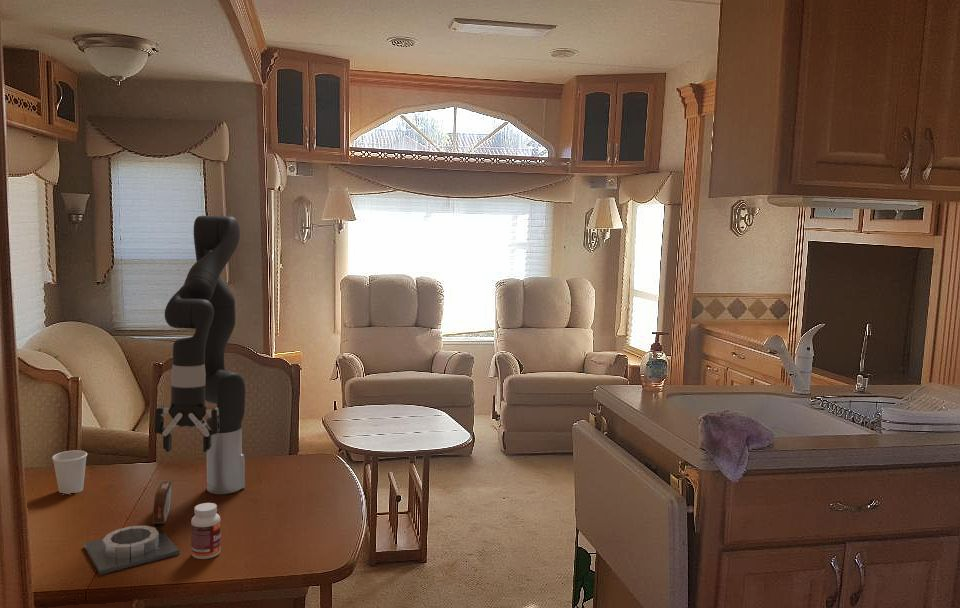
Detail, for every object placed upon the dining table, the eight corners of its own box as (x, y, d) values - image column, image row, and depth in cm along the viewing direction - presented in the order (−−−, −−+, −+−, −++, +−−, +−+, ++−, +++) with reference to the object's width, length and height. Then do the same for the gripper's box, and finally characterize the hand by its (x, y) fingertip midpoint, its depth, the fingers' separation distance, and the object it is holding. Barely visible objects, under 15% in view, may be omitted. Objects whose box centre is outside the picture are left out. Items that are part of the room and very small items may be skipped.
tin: (161, 506, 188) (160, 475, 187) (174, 505, 189) (173, 474, 188) (151, 530, 174) (151, 496, 173) (166, 529, 175) (165, 495, 174)
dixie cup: (90, 492, 196) (89, 456, 194) (54, 498, 191) (53, 462, 190) (86, 483, 202) (85, 448, 201) (52, 488, 198) (50, 453, 197)
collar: (158, 529, 174) (158, 515, 174) (179, 554, 162) (178, 539, 161) (84, 547, 164) (83, 532, 164) (100, 575, 152) (99, 559, 151)
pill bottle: (219, 559, 160) (218, 511, 159) (189, 561, 159) (188, 513, 158) (222, 546, 166) (221, 500, 165) (193, 548, 165) (193, 502, 164)
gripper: (223, 381, 175) (222, 447, 176) (162, 379, 173) (160, 446, 174) (215, 386, 167) (214, 455, 168) (151, 385, 165) (150, 455, 166)
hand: (187, 451), depth 171 cm, fingers open, 8 cm apart
